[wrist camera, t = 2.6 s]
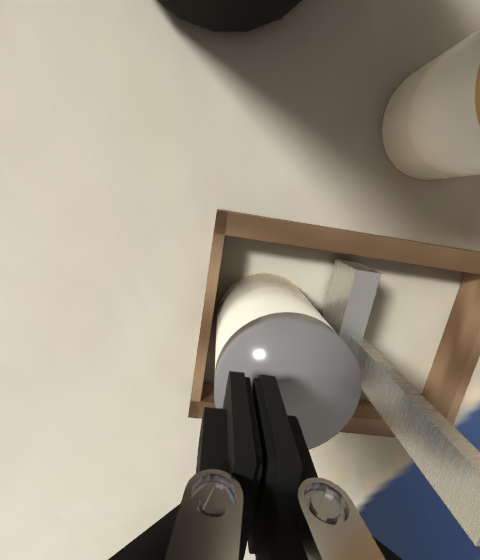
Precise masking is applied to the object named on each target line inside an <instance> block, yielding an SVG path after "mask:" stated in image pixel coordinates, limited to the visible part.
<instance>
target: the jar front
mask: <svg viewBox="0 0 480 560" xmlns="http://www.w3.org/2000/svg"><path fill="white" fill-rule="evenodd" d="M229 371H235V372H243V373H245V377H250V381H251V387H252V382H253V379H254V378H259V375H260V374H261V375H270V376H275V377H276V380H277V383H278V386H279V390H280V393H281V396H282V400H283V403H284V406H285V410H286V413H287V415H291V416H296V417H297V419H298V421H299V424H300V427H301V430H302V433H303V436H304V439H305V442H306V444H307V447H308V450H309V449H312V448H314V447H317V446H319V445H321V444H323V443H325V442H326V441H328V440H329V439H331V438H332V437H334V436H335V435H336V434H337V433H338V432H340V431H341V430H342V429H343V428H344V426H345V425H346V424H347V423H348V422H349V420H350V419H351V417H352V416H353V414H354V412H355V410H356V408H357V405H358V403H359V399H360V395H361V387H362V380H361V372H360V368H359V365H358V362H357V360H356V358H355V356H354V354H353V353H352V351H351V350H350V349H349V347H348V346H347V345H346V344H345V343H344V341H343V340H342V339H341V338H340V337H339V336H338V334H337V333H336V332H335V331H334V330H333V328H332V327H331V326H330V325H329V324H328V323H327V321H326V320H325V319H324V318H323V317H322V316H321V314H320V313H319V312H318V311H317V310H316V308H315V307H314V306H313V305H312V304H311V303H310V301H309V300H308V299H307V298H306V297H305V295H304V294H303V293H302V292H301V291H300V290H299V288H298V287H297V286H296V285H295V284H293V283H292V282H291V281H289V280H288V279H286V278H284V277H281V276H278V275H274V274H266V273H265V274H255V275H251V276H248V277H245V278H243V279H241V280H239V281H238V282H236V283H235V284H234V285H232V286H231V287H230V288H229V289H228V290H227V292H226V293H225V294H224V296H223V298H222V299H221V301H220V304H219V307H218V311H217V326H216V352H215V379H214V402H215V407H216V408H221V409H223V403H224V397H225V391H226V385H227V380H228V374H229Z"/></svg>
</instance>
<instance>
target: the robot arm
mask: <svg viewBox="0 0 480 560" xmlns="http://www.w3.org/2000/svg"><path fill="white" fill-rule="evenodd" d="M247 541H248V549H249V553H250V554H255V556H256V560H402V559H401V558H399V557H398V556H397V555H396V554H395V553H393V552H392V551H391V550H389V549H388V548H387V547H386V546H384V545H383V544H382V543H381V542H379V541H378V540H377V539H375V538H374V537H373V536H372V535H371V533H370V532H369V530H368V528H367V527H366V525H365V523H364V522H363V520H362V518H361V516H360V514H359V513H358V511H357V509H356V507H355V506H354V504H353V502H352V500H351V499H350V498H349V496H348V495H347V494H346V492H345V491H344V490H342V489H341V488H340V487H339V486H338V485H336V484H335V483H333V482H331V481H329V480H326V479H323V478H318V476H317V473H316V470H315V468H314V465H313V462H312V459H311V456H310V453H309V450H308V447H307V444H306V442H305V439H304V436H303V433H302V430H301V427H300V424H299V421H298V419H297V417H296V416H291V415H287V413H286V410H285V406H284V403H283V400H282V396H281V393H280V390H279V386H278V383H277V380H276V377H275V376H270V375H261V374H260V375H259V378H254V379H253V382H252V387H251V381H250V377H245V373H243V372H235V371H229V374H228V380H227V385H226V391H225V397H224V403H223V409H221V408H211V407H204V411H203V417H202V424H201V431H200V438H199V447H198V457H197V467H196V474H195V475H194V476H193V477H192V478H191V479H190V480H189V482H188V484H187V486H186V488H185V491H184V494H183V498H182V501H181V503H180V504H179V505H178V506H177V507H175V508H174V509H173V510H171V511H170V512H169V513H168V514H166V515H165V516H164V517H162V518H161V519H160V520H159V521H157V522H156V523H155V524H153V525H152V526H151V527H150V528H148V529H147V530H146V531H144V532H143V533H142V534H141V535H139V536H138V537H137V538H135V539H134V540H133V541H132V542H130V543H129V544H128V545H126V546H125V547H124V548H123V549H121V550H120V551H119V552H117V553H116V554H115V555H114V556H112V557H111V558H110V559H108V560H243V559H244V554H245V550H246V545H247Z"/></svg>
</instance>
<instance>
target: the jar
mask: <svg viewBox="0 0 480 560" xmlns="http://www.w3.org/2000/svg"><path fill="white" fill-rule="evenodd" d="M382 139H383V145H384V148H385V151H386V153H387V156H388V157H389V159H390V161H391V162H392V163H393V165H394V166H395V167H396V168H397V169H398V170H399V171H401V172H402V173H404V174H405V175H407V176H410V177H412V178H416V179H422V180H430V179H440V178H450V177H461V176H471V175H480V29H478V30H477V31H475V32H474V33H473V34H471V35H470V36H468V37H467V38H465V39H464V40H462V41H461V42H459V43H458V44H456V45H455V46H453V47H452V48H450V49H449V50H447V51H446V52H444V53H443V54H441V55H440V56H438V57H437V58H435V59H434V60H432V61H431V62H429V63H428V64H426V65H425V66H423V67H422V68H420V69H419V70H417V71H416V72H414V73H413V74H411V75H410V76H409V77H407V78H406V79H405V80H404V81H403V82H402V83H401V84H400V85H399V86H398V87H397V89H396V90H395V91H394V93H393V95H392V96H391V98H390V100H389V102H388V104H387V106H386V109H385V113H384V117H383V122H382Z"/></svg>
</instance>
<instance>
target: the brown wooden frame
mask: <svg viewBox="0 0 480 560" xmlns="http://www.w3.org/2000/svg"><path fill="white" fill-rule="evenodd" d="M225 235H228V236H235V237H241V238H248V239H254V240H261V241H267V242H274V243H280V244H287V245H293V246H300V247H306V248H312V249H319V250H325V251H332V252H338V253H345V254H351V255H358V256H364V257H371V258H377V259H384V260H390V261H397V262H403V263H409V264H416V265H422V266H429V267H435V268H442V269H448V270H455V271H461V272H465V273H464V276H463V279H462V282H461V285H460V288H459V291H458V293H457V296H456V299H455V302H454V305H453V308H452V311H451V313H450V316H449V319H448V322H447V325H446V328H445V331H444V333H443V336H442V339H441V342H440V345H439V348H438V351H437V353H436V356H435V359H434V362H433V365H432V368H431V371H430V374H429V376H428V379H427V382H426V385H425V388H424V391H423V394H422V396H423V397H424V398H425V399H426V400H427V401H428V402H429V403H430V404H431V405H432V406H433V407H434V408H435V409H436V410H437V411H438V412H439V413H440V414H441V415H442V416H443V417H444V418H445V419H446V420H447V421H448V422H449V423H451V424H452V425H453V423H454V420H455V418H456V415H457V413H458V410H459V407H460V405H461V402H462V400H463V397H464V395H465V392H466V389H467V387H468V384H469V382H470V379H471V377H472V374H473V371H474V369H475V366H476V364H477V361H478V358H479V356H480V252H478V251H472V250H466V249H460V248H454V247H447V246H441V245H435V244H429V243H423V242H417V241H411V240H404V239H398V238H392V237H386V236H380V235H374V234H367V233H361V232H355V231H349V230H343V229H337V228H330V227H324V226H318V225H312V224H306V223H300V222H293V221H287V220H281V219H275V218H269V217H263V216H257V215H250V214H244V213H238V212H232V211H226V210H220V209H217V214H216V221H215V228H214V235H213V242H212V250H211V257H210V264H209V271H208V278H207V286H206V293H205V300H204V307H203V314H202V321H201V329H200V336H199V343H198V350H197V357H196V365H195V372H194V379H193V386H192V393H191V401H190V408H189V415H188V417H191V418H201V419H202V417H203V411H204V407H211V408H216V407H215V402H214V384H206V383H203V379H204V373H205V366H206V359H207V352H208V346H209V339H210V332H211V325H212V319H213V312H214V305H215V298H216V292H217V285H218V278H219V271H220V265H221V258H222V251H223V244H224V238H225ZM340 432H346V433H357V434H367V435H377V436H388V437H396V436H395V435H394V433H393V432H392V431H391V429H390V428H389V426H388V425H387V424H386V422H385V421H384V420H383V418H382V417H381V415H380V414H379V413H378V411H377V410H376V409H375V407H374V406H373V405H372V403H371V402H370V401H364V400H359V403H358V405H357V408H356V410H355V412H354V414H353V416H352V417H351V419H350V420H349V422H348V423H347V424H346V425H345V426H344V428H343V429H342V430H341V431H340Z"/></svg>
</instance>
